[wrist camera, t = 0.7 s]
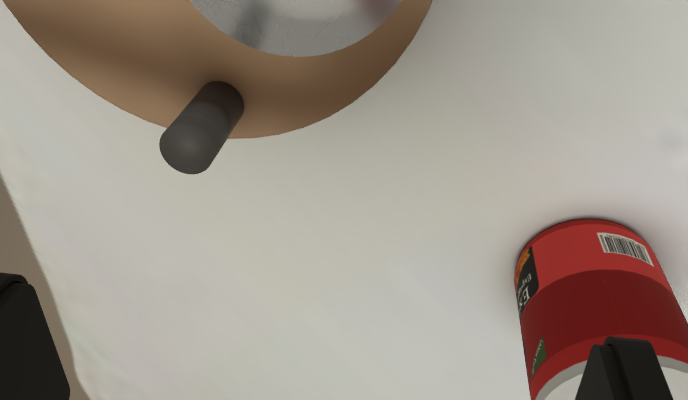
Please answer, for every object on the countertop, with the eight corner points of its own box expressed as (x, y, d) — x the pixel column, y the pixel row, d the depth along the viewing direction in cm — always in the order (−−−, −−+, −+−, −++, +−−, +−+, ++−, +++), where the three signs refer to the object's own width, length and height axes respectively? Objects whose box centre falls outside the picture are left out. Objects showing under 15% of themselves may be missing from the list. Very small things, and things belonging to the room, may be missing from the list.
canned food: (495, 236, 36) (513, 385, 26) (638, 196, 33) (712, 347, 24) (533, 325, 39) (560, 484, 30) (665, 296, 36) (739, 461, 27)
